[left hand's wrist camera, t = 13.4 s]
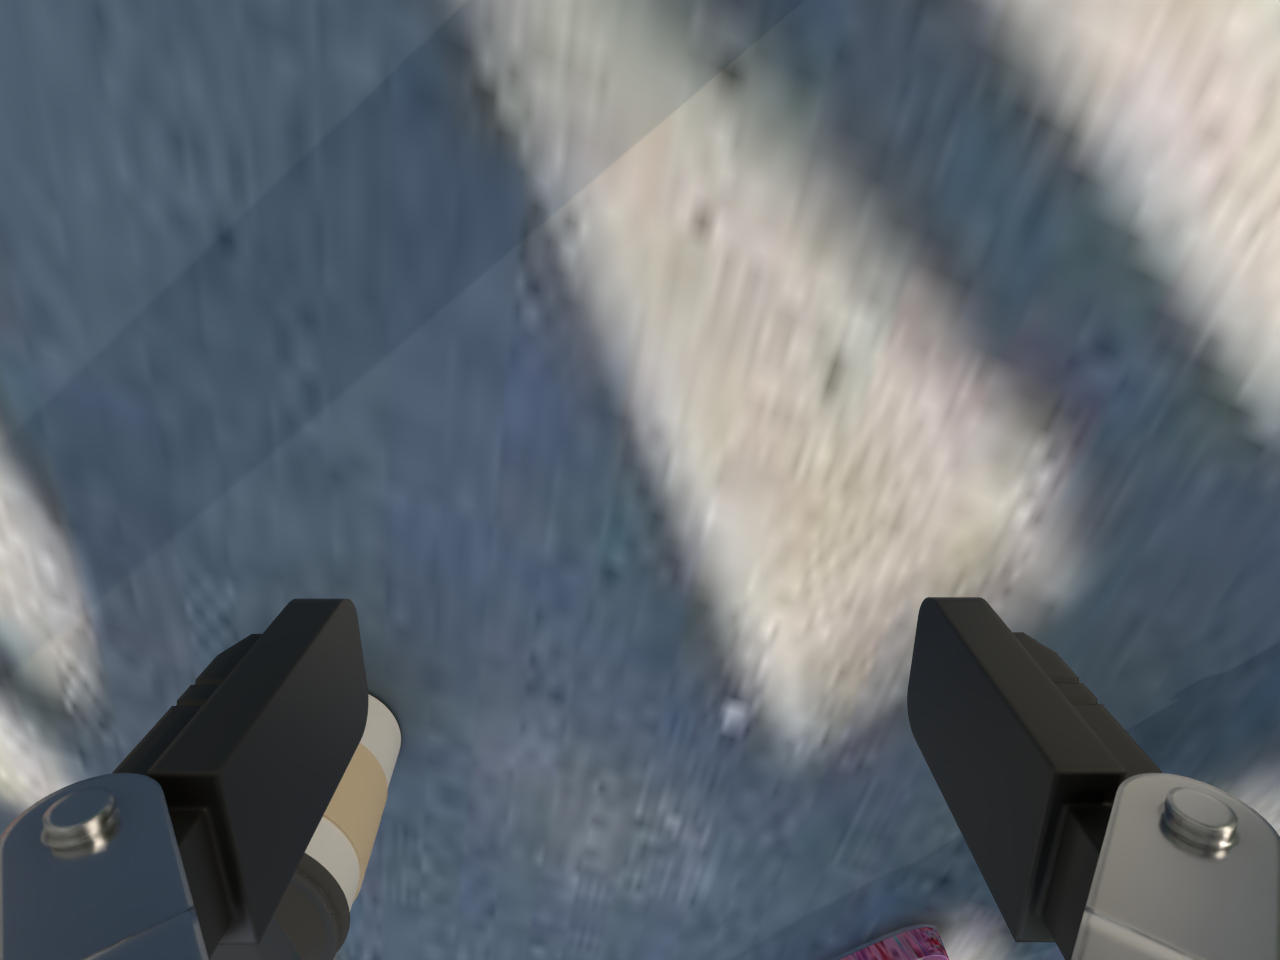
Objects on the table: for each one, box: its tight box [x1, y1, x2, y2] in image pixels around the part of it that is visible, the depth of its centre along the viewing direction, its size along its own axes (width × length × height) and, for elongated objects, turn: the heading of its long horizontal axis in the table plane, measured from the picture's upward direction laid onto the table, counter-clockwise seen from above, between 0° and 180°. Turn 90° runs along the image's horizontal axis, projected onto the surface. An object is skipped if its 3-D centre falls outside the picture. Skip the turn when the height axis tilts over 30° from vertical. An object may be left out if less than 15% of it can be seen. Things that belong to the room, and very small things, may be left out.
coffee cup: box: [210, 694, 401, 960], centre depth 41 cm, size 9×9×15 cm
